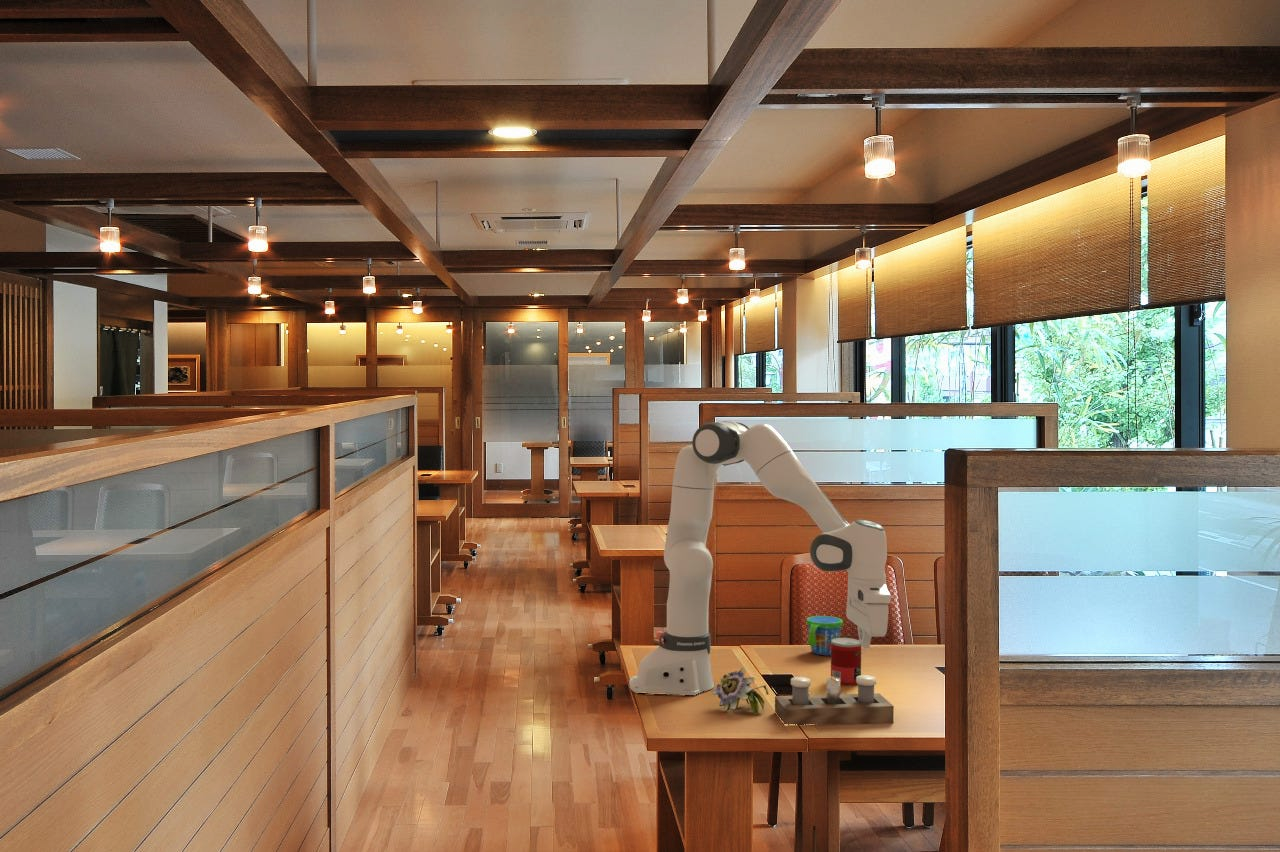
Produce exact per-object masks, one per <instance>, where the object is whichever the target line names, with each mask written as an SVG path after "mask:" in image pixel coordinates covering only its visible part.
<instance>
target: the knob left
mask: <svg viewBox="0 0 1280 852" xmlns="http://www.w3.org/2000/svg"><path fill="white" fill-rule="evenodd" d="M790 685H791V686H792V691H791V692H792V695H791V696H792V705H793V706H795V705H809V695H810V693H809V692H810V691H809V687H810V686H811V679H810V678H809V677H804V676H795V677H791V678H790Z"/></svg>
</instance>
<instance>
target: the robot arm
mask: <svg viewBox="0 0 1280 852" xmlns="http://www.w3.org/2000/svg"><path fill="white" fill-rule="evenodd" d="M691 442H692V443H691V444H687V445H686V446H684V447H682V448H681V449H680V450H679V452H678V455H677V457H676V460H675V461H676V463H675V465H674V471H673V477H672V479H673V480H672V486H671V487H672V489H671V500H670V501H671V502H670V513H669V520H668V525H667V532H666V536H665V542H664V543H665V544H664V550H663V560H664V565H665V566H666V568H667V569H668V571H669V582H668V583H669V585H668V594H667V600H666V631H665V632H663V631H661V630H657V631H656V633H655V637H656V639H657V640H658V646H657V648H655V649H654V650H653V651H651V652H650V653H648V654H647V655H645V656H644V657H643V658H642V659H641V661H640V663H639V666H638V669H637V675H634V676H632V677H631V678H630V679H629V683H628V684H629V685H628V686H629V688H630V690H631V691H632V692H633V693H635V694H638V693H641V692H646V693H649V692H650V693H665V694H685V695H694V696H697V695H699V694H700V692H701V693H703V691H704V692H707V691H710V690H712V689H714V688H715V682H714V679H713V674H712V669H711V662H710V654H711V633H710V631H709V608H710V607H709V605H710V604H709V602H710V595H711V588H712V581H713V579H712V576H713V570H714V560H713V557H712V554H711V552H710V550H709V549H708V548H707V546H706V545H707V539H708V533H709V530H710V529H709V528H710V524H711V521H712V519H713V509H714V499H715V498H714V496H715V482H716V474H717V471H718V469H719V467H721V466H724V467H727V466H730V465H733V464H739V463H742V462H744V461H745V462H746V463H747V464H748V465H749V466H750V468H751V470H752V471H753V472H754V474H755V476H756V477H757V479H758V480H759V482H760V483H761V484H762V486H763V487H764V488H765V489H766V490H767V492H768V493H770V494H771V495H772V496H773V497H775V498H779V499H782V500H785V501H788V502H791V503H792V504H795V505H798V506H799V507H800V508H802V509H803V510H804V511H806V512H807V514H808V515H809V517H811V519H812V520H813V522H814V523H815V524H816V526H817V527H818V528H819V529H820V531H821V532H822V533H820V534H818V536H816V537H815V538H814V539H813V540H812V542H811V543H810V547H809V556H810V559H811V562H812V563H813V564H814V566H815V567H816V568H818V569H819V570H821V571H823V572H829V573H830V572H831V573H832V572H833V573H834V572H837V571H846V572H847V573H848V574H847V599H846V611H845V613H846V618H847V619H848V621H850V622H852V623H853V624H855V626H857V632H858V633H857V634H858V640H859V644H860V645H861V648H863V649H870V648H871V641H872V637H873V638H874V637H875V638H879V637H880V638H881V637H882V638H884V637H885V636H886V634H887V631H888V624H889V611H890V609H889V605H888V604H891V602H892V595H891V593H890V591H889V590H888V587H887V575H886V569H885V567H886V564H887V560H888V553H887V551H888V547H887V546H888V543H887V535H886V531H885V530H886V529H884V527H883V526H882V525H881V524H879V523H877V522H874V521H871V520H864V519H856V520H853V521H852V522H851V523H849V522H848V521H847V520H846V519H845V518H844V517H843V516H842V515H841V513H840V512H839V510H838V509H837V508H836V506H834V504H833V503H832V501H831V500H830V499H829V497H828V496H827V495H826V494H825V493H824V491H823V490H822V489H821V487H819V485H818V484H817V482H815V480H814V479H813V478H812V476H811V474H809V472H808V471H807V469H805V467H804V466H803V464H802V463H801V461H800V460H799V458H798V456H797V455H796V454H795V452H794V451H793V449H792V447H790V445H789V444H788V442H787V441H786V440H785V439H784V438H783V436H782V435H781V434H780V433H779V432H778V431H777V430H776V429H775V428H774V427H773V426H772V425H770V424H768V423H758V424H755V425H753V426H751V427H749V426H748V425H746V424H744V423H741V422H734V421H728V420H724V421H718V422H717V421H711V422H707V423H705V424H703V425H701V426H699V427H698V428H697V429H696V431H695V432H694V434H693V436H692V441H691ZM698 693H699V694H698ZM696 694H697V695H696ZM685 695H684V696H685Z"/></svg>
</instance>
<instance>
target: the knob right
mask: <svg viewBox="0 0 1280 852" xmlns="http://www.w3.org/2000/svg"><path fill="white" fill-rule="evenodd" d="M856 683H857V694H858V703H859V704H866V703H874V694H875V685H877V678H876V677H875V676H872V675H868V674H865V675H864V674H861V675H860V676H857V677H856Z"/></svg>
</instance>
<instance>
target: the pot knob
mask: <svg viewBox="0 0 1280 852" xmlns="http://www.w3.org/2000/svg"><path fill="white" fill-rule="evenodd" d="M840 694H841V685H840V679H839V678H834V677H833V676H831V675H830V677H827V678H826V695H827V705H830V704H840Z"/></svg>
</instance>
